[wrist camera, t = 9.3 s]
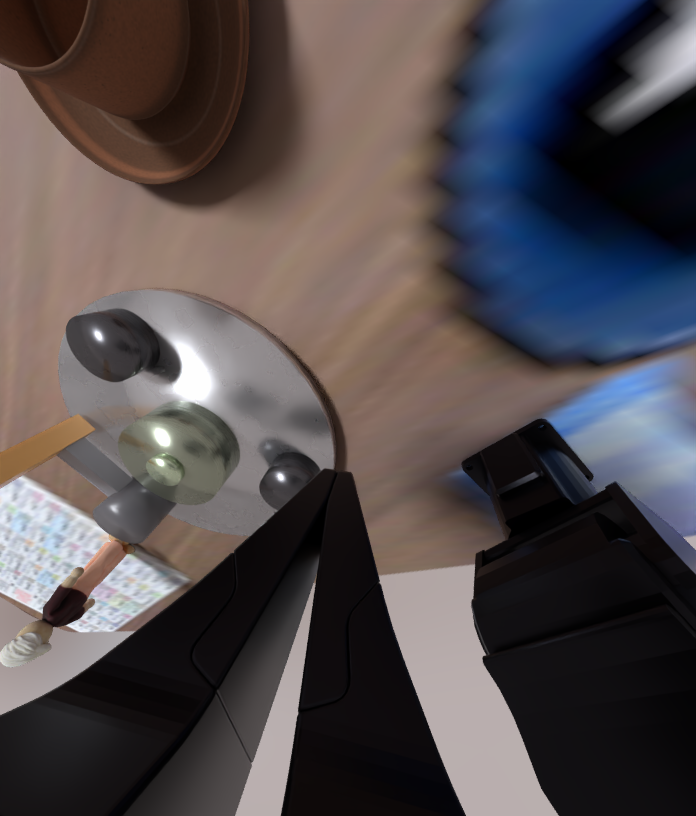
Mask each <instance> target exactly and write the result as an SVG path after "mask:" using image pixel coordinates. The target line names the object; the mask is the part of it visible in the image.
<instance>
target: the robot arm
mask: <svg viewBox="0 0 696 816" xmlns="http://www.w3.org/2000/svg"><path fill="white" fill-rule="evenodd" d="M541 425H544V426H543V427H542V428H538V427H539V426H541ZM468 465H472V466H470V467H467V466H468ZM462 468H463V470H464V472H465V473H466V474H468V475H469V476H470V477H471V478H472V479H473V480H474V481H475V482H476V483H477V484H478V485H479V486H480V487H481V488H482V489H483V490H484V491H485V492H486V493H487V494H488V495H489V496H490V498H491V501H492V503H493V506H494V509H495V512H496V514H497V517H498V520H499V523H500V526H501V528H502V531H503V534H504V537H505V539H506V540H505V541H504V542H502V543H500V544H498V545H496V546H494V547H492V548H490V549H488V550H486V551H485V550H482V551H480V552H478V553H476V559H475V577H474V596H473V599H472V603H471V607H472V612H473V619H474V625H475V629H476V632H477V635H478V637H479V640H480V643H481V645H482V647H483V650H484V652H485V653H486V656H483V663H484V665H485V667H486V669H487V670H488V672H489V673H490V675H491V677H492V678H493V680H494V681H495V683H496V684H497V686H498V687H499V689H500V691H501V693H502V695H503V697H504V699H505V701H506V703H507V705H508V707H509V709H510V711H511V713H512V715H513V717H514V719H515V722H516V724H517V727H518V729H519V732H520V734H521V736H522V739H523V742H524V744H525V747H526V750H527V752H528V755H529V758H530V760H531V763H532V765H533V768H534V771H535V774H536V776H537V779H538V782H539V784H540V786H541V789H542V790H543V792H544V794H545V795H546V797H547V798H548V800H549V801H550V803H551V804H552V806H553V807H554V809H555V810H556V812H557V813H558V815H559V816H696V550H695V549H694V548H693V547H692V546H691V545H690V544H689V543H688V542H687V541H686V540H685V539H684V538H683V537H682V536H681V535H680V534H679V533H678V532H677V531H676V530H675V529H673V528H672V527H671V526H670V525H669V524H668V523H666V522H665V521H664V520H663V519H661V518H660V517H659V516H658V515H657V514H655V513H654V512H653V511H652V510H650V509H649V508H648V507H647V506H646V505H644V504H643V503H642V502H641V501H639V500H638V499H637V498H636V497H635V496H633V495H632V494H631V493H630V492H628V491H627V490H626V489H625V488H624V487H622V486H621V485H620V484H619V483H617V482H614V483H612V484H610V485H608V486H606V487H605V488H606V489H605V490H603V491H601V492H599V493H598V492H597V491H596V489H595V488H594V487H593V486H592V484H591V483H590V481H592V479H593V477H594V476H593V474H592V473H591V472H590V471H589V470H588V468H587V467H586V466H585V465H584V464H583V463H582V461H581V460H580V459H579V458H578V457H577V455H576V454H575V453H574V452H573V451H572V450H571V448H570V447H569V446H568V445H567V444H566V442H565V441H564V440H563V439H562V438H561V437H560V435H559V434H558V433H557V432H556V431H555V429H554V428H553V427H552V426H551V425H550V424H549V422H548V421H547V420H545V419H537V420H535V421H533V422H531V423H530V424H528V425H526V426H524V427H523V428H521V429H519V430H517V431H515V432H514V433H512V434H510V435H508V436H506V437H505V438H503V439H501V440H499V441H498V442H496V443H494V444H492V445H491V446H489V447H487V448H485V449H483V450H482V451H480V452H478V453H476V454H475V455H473V456H471V457H469V458H468V459H466V460H464V461H463V462H462ZM584 475H585V476H584ZM316 574H317V578H316V585H315V593H314V599H313V606H312V614H311V622H310V628H309V635H308V642H307V650H306V658H305V664H304V672H303V678H302V686H301V693H300V700H299V707H298V716H297V721H296V728H295V735H294V742H293V748H292V755H291V761H290V767H289V773H288V779H287V785H286V791H285V796H284V801H283V807H282V813H281V816H466V815H465V813H464V810H463V808H462V806H461V804H460V802H459V800H458V797H457V795H456V793H455V790H454V788H453V786H452V784H451V781H450V779H449V776H448V774H447V772H446V769H445V767H444V764H443V762H442V759H441V757H440V754H439V752H438V749H437V747H436V744H435V741H434V739H433V736H432V733H431V731H430V728H429V725H428V723H427V720H426V717H425V715H424V712H423V709H422V707H421V704H420V701H419V699H418V696H417V693H416V691H415V688H414V686H413V683H412V680H411V677H410V675H409V672H408V669H407V667H406V664H405V661H404V659H403V656H402V653H401V650H400V647H399V644H398V641H397V638H396V635H395V633H394V630H393V627H392V623H391V620H390V616H389V613H388V609H387V606H386V603H385V599H384V595H383V591H382V587H381V584H380V583H379V582H380V580H379V576H378V572H377V568H376V564H375V560H374V556H373V552H372V548H371V545H370V541H369V537H368V533H367V529H366V525H365V521H364V517H363V513H362V509H361V505H360V502H359V498H358V494H357V490H356V486H355V482H354V478H353V474H352V473H351V472H346V471H338V472H337V470H334V469H328V468H324V469H323V470H321V471H320V472H319V473H318V474H317V475H316V476H315V477H314V478H313V479H312V480H310V481H309V482H308V483H307V484H306V485H305V486H304V487H303V488H302V489H301V490H300V491H298V492H297V493H296V494H295V495H294V496H293V497H292V498H291V499H290V500H289V501H288V502H286V503H285V504H284V505H283V506H282V507H281V508H280V509H279V510H278V511H277V512H276V513H274V514H273V515H272V516H271V517H270V518H269V519H268V520H267V521H266V522H265V523H264V524H262V525H261V526H260V527H259V528H258V529H257V530H256V531H255V532H254V533H253V534H252V535H250V536H249V537H248V538H247V539H246V540H245V541H244V542H243V543H242V544H241V545H240V546H238V547H237V548H236V549H235V550H234V553H231V554H229V555H228V556H227V557H226V558H225V559H224V560H223V561H222V562H221V563H220V564H219V565H217V566H216V567H215V568H214V569H213V570H212V571H211V572H209V573H208V574H207V575H206V576H205V577H204V578H203V579H201V580H200V581H199V582H198V583H197V584H196V585H194V586H193V587H192V588H191V589H189V590H188V591H187V592H186V593H184V594H183V595H182V596H181V597H179V598H178V599H177V600H176V601H174V602H173V603H172V604H171V605H169V606H168V607H167V608H165V609H164V610H163V611H162V612H160V613H159V614H158V615H156V616H155V617H154V618H152V619H151V620H150V621H149V622H147V623H146V624H145V625H143V626H142V627H141V628H139V629H138V630H137V631H136V632H134V633H133V634H132V635H130V636H129V637H128V638H126V639H125V640H124V641H123V642H122V643H120V644H119V645H117V646H116V647H115V648H114V649H112V650H111V651H110V652H108V653H107V654H106V655H104V656H103V657H102V658H101V659H100V660H98V661H96V662H95V663H94V664H92V665H91V666H90V667H88V668H87V669H86V670H84V671H83V672H81V673H79V674H78V675H77V676H75V677H73V678H72V679H70V680H69V681H67V682H65V683H64V684H62V685H60V686H59V687H57V688H55V689H53V690H52V691H50V692H48V693H46V694H44V695H43V696H41V697H39V698H36V699H34V700H33V701H30V702H28V703H26V704H24V705H22V706H19V707H17V708H15V709H13V710H11V711H9V712H6V713H4V714H2V715H0V816H235V814H236V811H237V808H238V805H239V802H240V799H241V796H242V793H243V790H244V787H245V784H246V781H247V778H248V775H249V772H250V769H251V766H252V764H251V763H252V762H253V760H254V757H255V754H256V751H257V748H258V746H259V743H260V740H261V737H262V734H263V731H264V728H265V725H266V722H267V719H268V716H269V713H270V710H271V707H272V704H273V701H274V698H275V695H276V692H277V689H278V686H279V683H280V680H281V677H282V674H283V672H284V668H285V665H286V663H287V660H288V657H289V653H290V651H291V648H292V645H293V642H294V639H295V636H296V633H297V630H298V627H299V624H300V621H301V618H302V615H303V612H304V609H305V606H306V603H307V600H308V598H309V594H310V591H311V589H312V586H313V583H314V580H315V577H316Z"/></svg>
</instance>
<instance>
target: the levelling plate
mask: <svg viewBox="0 0 696 816" xmlns="http://www.w3.org/2000/svg"><path fill="white" fill-rule="evenodd" d="M58 373H59V380H60V387H61V391H62V394H63V398H64V401H65V404H66V407H67V409H68V412H69V414H70V416H71V417H73V416H75V415H77V414H79V415H80V416H81V417H83V418H84V419H85V420H86V421H87V422H88V423H89V424H91V425H92V426H93V427H94V428H95V429H96V430H95V431H93V432H92V433H91V434H90V435H88V436H87V437H86V439H87V440H88V441H89V442H90V443H92V444H93V445H94V446H95V447H96V448H97V449H99V450H100V451H101V452H102V453H103V454H104V455H106V456H107V457H108V458H109V459H110V460H111V461H112V462H114V463H115V464H116V465H117V466H118V467H119V468H121V469H122V470H123V471H124V472H125V473H126V474H128V475H129V476H130V477H131V478H132V477H134V478H135V479H136V480H137V481H138V482H139V483H141V484H142V485H143V486H144V487H145V488H147V489H148V490H150V491H151V492H153V493H154V494H156V495H158V496H160V497H162V498H164V499H166V500H169V501H172V502H175V503H177V504H176V506H175V507H174V508H173V509H172V510H171V511H170V512H169V513H168V514H169V515H171V516H173V517H175V518H177V519H179V520H182V521H184V522H186V523H189V524H192V525H194V526H197V527H200V528H203V529H207V530H211V531H214V532H219V533H225V534H231V535H241V536H250V535H252V534H253V533H254V532H255V531H256V530H257V529H258V528H259V527H260V526H261V525H262V524H264V523H265V522H266V521H267V520H268V519H269V518H270V517H271V516H272V515H273V514H274V513H276V512H277V511H278V510H279V509H280V508H281V507H282V506H283V505H284V504H285V503H286V502H288V501H289V500H290V499H291V498H292V497H293V496H294V495H295V494H296V493H297V492H298V491H300V490H301V489H302V488H303V487H304V486H305V485H306V484H307V483H308V482H309V481H310V480H312V479H313V478H314V477H315V476H316V475H317V474H318V473H319V472H320V471H321V470H323V469H324V468H328V469H335V464H336V447H337V445H336V438H335V430H334V426H333V423H332V419H331V416H330V412H329V410H328V408H327V405H326V403H325V401H324V398H323V396H322V394H321V392H320V391H319V389H318V387H317V386H316V384H315V382H314V381H313V379H312V377H311V376H310V374H309V373H308V372H307V371H306V369H305V368H304V367H303V365H302V364H301V363H300V361H299V360H298V359H297V358H296V357H295V356H294V355H293V354H292V353H291V352H290V351H289V349H288V348H287V347H286V346H285V345H284V344H283V343H282V342H281V341H279V340H278V339H277V338H276V337H275V336H273V335H272V334H271V333H270V332H269V331H267V330H266V329H265V328H264V327H263V326H261V325H259V324H258V323H256V322H255V321H253V320H252V319H250V318H249V317H247V316H246V315H244V314H243V313H241V312H239V311H237V310H235V309H233V308H231V307H229V306H227V305H225V304H223V303H221V302H218V301H216V300H213V299H210V298H207V297H204V296H202V295H199V294H195V293H190V292H185V291H181V290H175V289H161V288H152V289H141V290H132V291H125V292H120V293H116V294H113V295H109V296H106V297H103V298H101V299H99V300H97V301H95V302H93V303H91V304H90V305H88V306H87V307H86V308H84V309H83V310H82V311H81V312H80V313H79V314H78V315H76V316H75V317H73V318H72V319H70V320H69V322H68V324H67V326H66V332H65V335H64V337H63V339H62V342H61V347H60V352H59V362H58Z"/></svg>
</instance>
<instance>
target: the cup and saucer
mask: <svg viewBox="0 0 696 816" xmlns="http://www.w3.org/2000/svg"><path fill="white" fill-rule="evenodd" d="M248 54H249V8H248V0H0V63H1V64H3V65H5V66H7V67H9V68H11V69H13V70H16V71H17V72H18V74H19V76H20V77H21V79H22V80H23V82H24V84H25V85H26V87H27V89H28V90H29V92H30V93H31V95H32V96H33V98H34V99H35V101H36V102H37V103H38V105H39V106H40V108H41V109H42V110H43V112H44V113H45V114H46V116H47V117H48V118H49V119H50V121H51V122H52V123H53V124H54V125H55V127H56V128H57V129H58V130H59V131H60V132H61V134H62V135H63V136H64V137H65V138H66V139H67V140H68V141H69V142H70V143H71V144H72V145H73V146H74V147H76V148H77V149H78V150H79V151H80V152H81V153H82V154H83V155H85V156H86V157H87V158H89V159H90V160H91V161H93V162H94V163H95V164H97V165H99V166H100V167H102V168H103V169H105V170H106V171H108V172H110V173H112V174H114V175H116V176H119V177H121V178H124V179H126V180H129V181H133V182H137V183H143V184H168V183H174V182H178V181H181V180H184V179H186V178H188V177H190V176H192V175H194V174H195V173H197V172H198V171H200V170H201V169H202V168H204V167H205V166H206V165H207V164H208V163H209V162H210V161H211V160H212V159H213V158H214V157H215V155H216V154H217V153H218V151H219V150H220V149H221V147H222V146H223V144H224V142H225V140H226V139H227V137H228V135H229V133H230V131H231V129H232V126H233V124H234V122H235V119H236V116H237V113H238V110H239V107H240V103H241V99H242V95H243V91H244V86H245V80H246V73H247V65H248Z"/></svg>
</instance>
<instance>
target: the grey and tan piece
mask: <svg viewBox="0 0 696 816" xmlns="http://www.w3.org/2000/svg"><path fill="white" fill-rule="evenodd" d="M95 430H96V429H95V428H94V427H93V426H92V425H91V424H89V423H88V422H87V421H86V420H85V419H84V418H83V417H81V416H80V415H79V414H77V415H75V416H73V417H71V418H69V419H67V420H65V421H63V422H61V423H59V424H57V425H55V426H53V427H51V428H49V429H47V430H45V431H43V432H41V433H39V434H37V435H35V436H33V437H31V438H29V439H27V440H25V441H23V442H21V443H19V444H17V445H15V446H13V447H11V448H9V449H7V450H5V451H3V452H1V453H0V488H2V487H4V486H5V485H7V484H9V483H10V482H12V481H14V480H16V479H17V478H19V477H21V476H22V475H24V474H26V473H27V472H29V471H31V470H33V469H34V468H36V467H38V466H39V465H41V464H43V463H44V462H46V461H48V460H50V459H51V458H53V457H55V456H56V455H57V456H58V457H60V458H61V459H62V460H63V461H65V462H66V463H67V464H68V465H69V466H71V467H72V468H73V469H74V470H76V471H77V472H78V473H79V474H81V475H82V476H83V477H84V478H86V479H87V480H88V481H89V482H91V483H92V484H93V485H94V486H95V487H97V488H98V489H99V490H100V491H102V492H103V493H104V494H105V495H107V496H108V498H107V499H106V500H104V501H103V502H102V503H101V504H100V505H98V506H97V507H96V508H95V509H94V510H93V517H94V519H95V521H96V522H97V524H98V525H99V526H100V527H101V528H102V529H103V530H104V531H106V532H107V533H108V534H110V535H111V536H113V537H115V538H117V539H119V540H121V541H124V542H128V543H134V544H135V543H141V542H143V541H144V540H145V539H146V538H147V537H148V536H149V535H150V534H151V532H152V531H153V530H154V529H155V528H156V527H157V526H158V525H159V523H160V522H161V521H162V520H163V519H164V518H165V517H166V516H167V514H168V513H169V512H170V511H171V510H172V509H173V508H174V507H175V506H176V504H177V503H175V502H172V501H169V500H166V499H164V498H162V497H160V496H158V495H156V494H154V493H153V492H151V491H150V490H148V489H147V488H145V487H144V486H143V485H142V484H141V483H139V482H138V481H137V480H136V479H135V478H134V477H132V478H131V477H130V476H129V475H128V474H126V473H125V472H124V471H123V470H122V469H121V468H119V467H118V466H117V465H116V464H115V463H114V462H112V461H111V460H110V459H109V458H108V457H107V456H106V455H104V454H103V453H102V452H101V451H100V450H99V449H97V448H96V447H95V446H94V445H93V444H92V443H90V442H89V441H88V440H87V439H86V437H87V436H88V435H90V434H91V433H92V432H93V431H95Z"/></svg>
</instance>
